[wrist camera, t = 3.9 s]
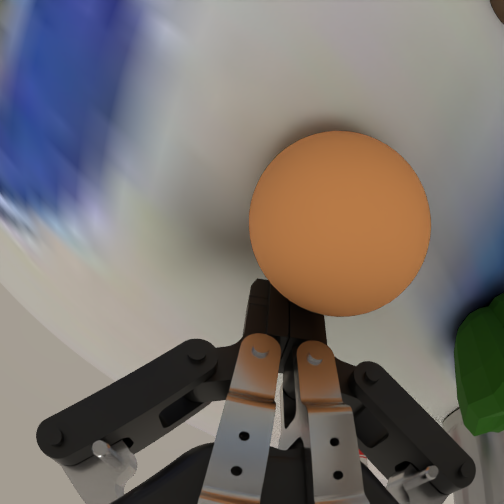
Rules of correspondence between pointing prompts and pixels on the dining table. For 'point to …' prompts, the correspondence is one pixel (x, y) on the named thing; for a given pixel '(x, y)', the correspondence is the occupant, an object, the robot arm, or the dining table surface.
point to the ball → (339, 223)
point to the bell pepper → (481, 368)
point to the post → (498, 8)
